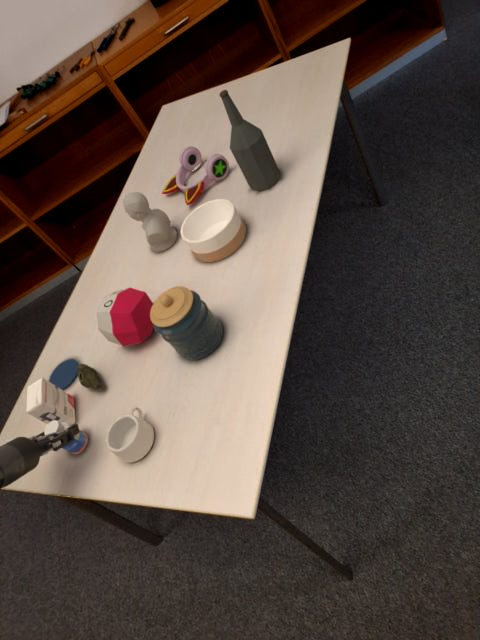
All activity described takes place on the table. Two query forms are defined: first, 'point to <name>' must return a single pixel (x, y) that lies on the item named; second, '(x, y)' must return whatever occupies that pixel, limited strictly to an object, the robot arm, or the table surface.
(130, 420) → the mug
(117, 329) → the decorative object
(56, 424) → the pill bottle
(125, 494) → the table surface
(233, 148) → the bottle
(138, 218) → the figurine
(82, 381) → the decorative stone
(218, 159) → the headphones
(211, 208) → the bowl
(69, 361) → the coaster
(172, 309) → the canister
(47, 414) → the ink box
